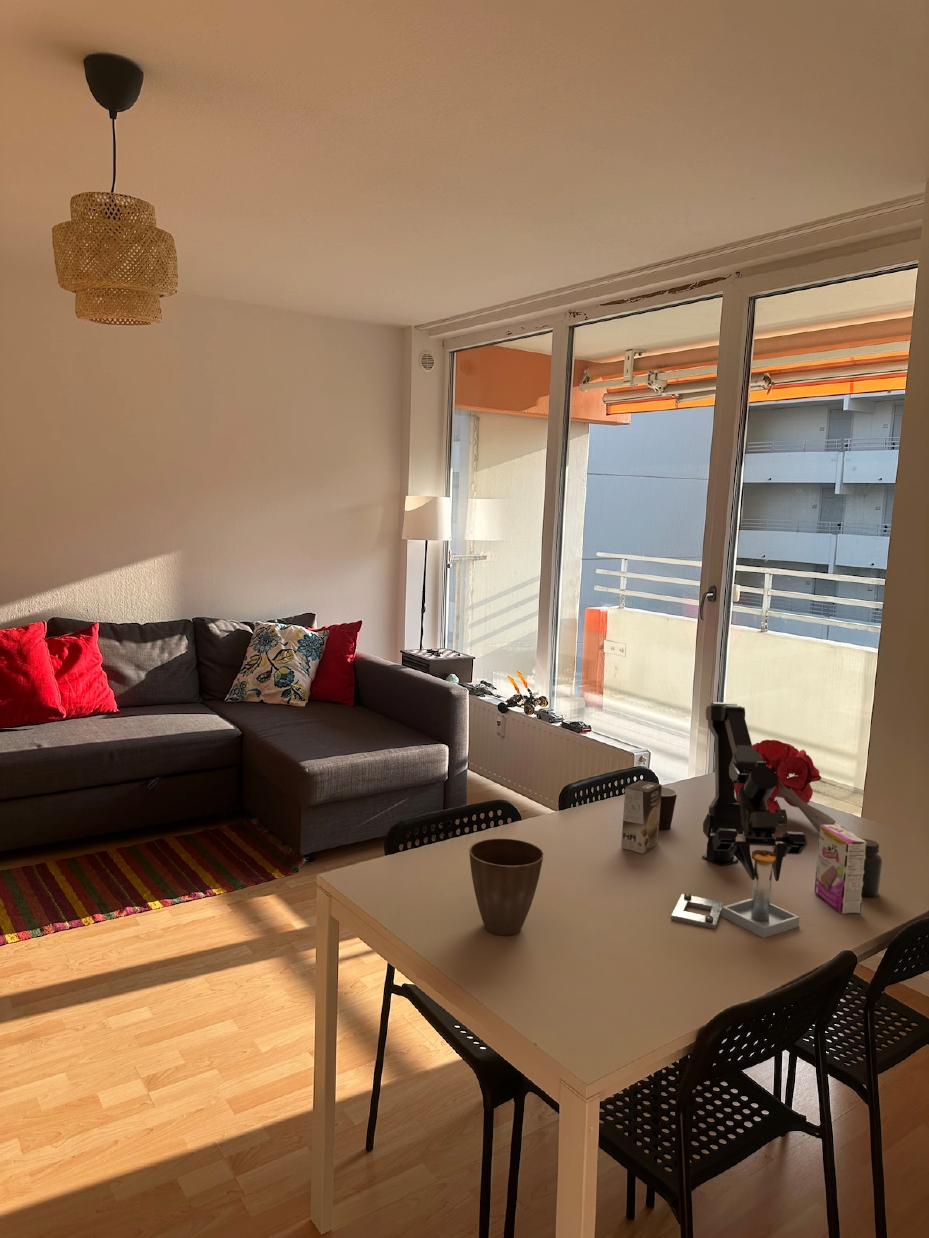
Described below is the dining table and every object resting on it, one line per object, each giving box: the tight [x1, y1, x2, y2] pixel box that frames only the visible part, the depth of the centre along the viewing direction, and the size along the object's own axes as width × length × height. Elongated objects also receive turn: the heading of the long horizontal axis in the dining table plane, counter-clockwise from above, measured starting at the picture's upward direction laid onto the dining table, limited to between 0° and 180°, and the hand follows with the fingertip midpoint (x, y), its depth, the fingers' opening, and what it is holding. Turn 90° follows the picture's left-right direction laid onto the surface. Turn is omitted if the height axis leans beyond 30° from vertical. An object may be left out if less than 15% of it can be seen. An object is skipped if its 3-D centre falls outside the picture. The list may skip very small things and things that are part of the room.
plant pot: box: [468, 838, 544, 936], centre depth 179 cm, size 15×15×16 cm
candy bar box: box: [813, 823, 867, 915], centre depth 197 cm, size 11×5×16 cm, turn 9°
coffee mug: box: [659, 786, 678, 832], centre depth 244 cm, size 12×9×10 cm
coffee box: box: [620, 779, 663, 854], centre depth 227 cm, size 9×6×16 cm
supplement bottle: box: [861, 838, 883, 899], centre depth 204 cm, size 7×7×12 cm
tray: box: [721, 898, 801, 939], centre depth 187 cm, size 11×11×2 cm
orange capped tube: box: [751, 849, 776, 922], centre depth 187 cm, size 5×5×14 cm
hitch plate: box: [670, 893, 725, 930], centre depth 190 cm, size 12×9×2 cm
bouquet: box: [734, 739, 837, 832], centre depth 249 cm, size 22×24×30 cm
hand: (765, 879), depth 185 cm, fingers open, 5 cm apart
